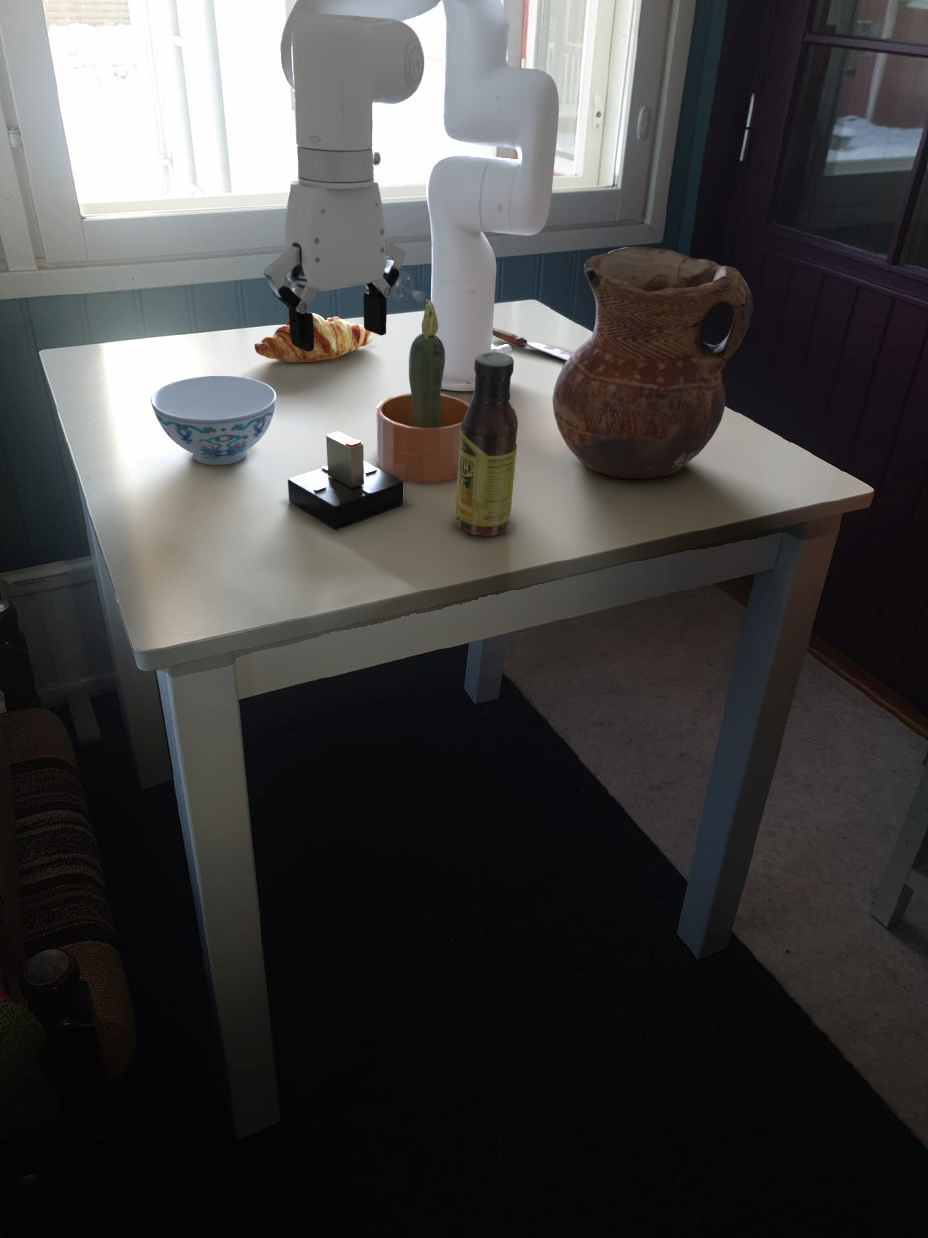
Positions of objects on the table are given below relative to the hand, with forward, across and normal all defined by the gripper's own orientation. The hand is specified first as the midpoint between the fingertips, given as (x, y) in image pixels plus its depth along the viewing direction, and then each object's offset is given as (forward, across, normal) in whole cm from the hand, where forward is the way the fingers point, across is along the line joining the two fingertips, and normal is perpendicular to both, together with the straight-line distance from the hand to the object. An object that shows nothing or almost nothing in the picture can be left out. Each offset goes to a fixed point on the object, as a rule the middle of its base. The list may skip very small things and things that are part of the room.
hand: (340, 339), depth 104 cm
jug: (+19, -36, +14) cm, 43 cm away
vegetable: (+19, -14, -2) cm, 24 cm away
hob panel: (+19, +1, +1) cm, 19 cm away
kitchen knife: (+18, -60, -23) cm, 67 cm away
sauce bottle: (+19, -8, +16) cm, 26 cm away
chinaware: (+19, +5, -20) cm, 28 cm away
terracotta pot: (+19, -14, -2) cm, 24 cm away
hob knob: (+16, +1, +1) cm, 16 cm away
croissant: (+18, -28, -44) cm, 55 cm away
